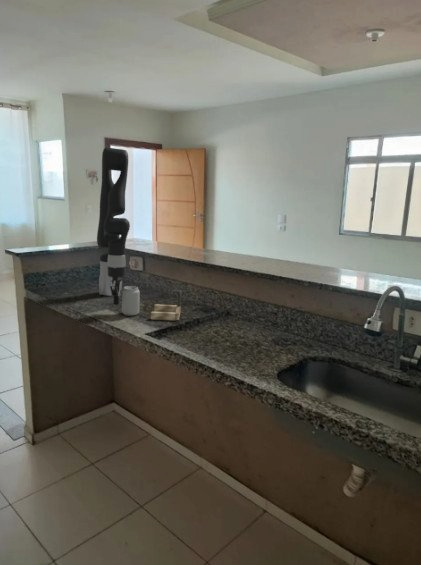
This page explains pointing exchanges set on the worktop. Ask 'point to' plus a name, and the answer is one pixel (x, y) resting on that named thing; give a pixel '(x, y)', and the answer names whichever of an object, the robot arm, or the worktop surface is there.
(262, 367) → the worktop surface
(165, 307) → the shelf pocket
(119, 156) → the robot arm
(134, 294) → the can
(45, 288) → the worktop surface
